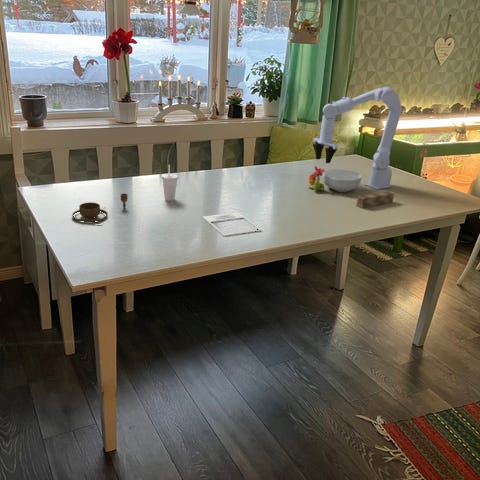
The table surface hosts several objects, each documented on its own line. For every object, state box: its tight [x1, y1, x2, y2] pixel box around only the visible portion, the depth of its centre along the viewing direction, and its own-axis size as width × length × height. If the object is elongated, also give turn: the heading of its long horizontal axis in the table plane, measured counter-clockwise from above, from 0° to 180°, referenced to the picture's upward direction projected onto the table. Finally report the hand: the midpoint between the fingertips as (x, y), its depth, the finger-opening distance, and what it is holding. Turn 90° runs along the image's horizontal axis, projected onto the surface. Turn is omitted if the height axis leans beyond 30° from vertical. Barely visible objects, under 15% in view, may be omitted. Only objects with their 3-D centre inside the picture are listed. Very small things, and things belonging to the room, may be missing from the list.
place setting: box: [71, 193, 128, 222], centre depth 178 cm, size 18×20×6 cm
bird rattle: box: [307, 166, 326, 193], centre depth 222 cm, size 6×11×9 cm
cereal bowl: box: [322, 168, 362, 193], centre depth 225 cm, size 17×17×7 cm
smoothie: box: [161, 164, 179, 202], centre depth 197 cm, size 6×6×14 cm
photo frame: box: [202, 211, 263, 237], centre depth 180 cm, size 15×1×18 cm
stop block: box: [356, 191, 395, 209], centre depth 210 cm, size 18×3×4 cm, turn 122°
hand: (323, 161), depth 233 cm, fingers open, 6 cm apart
